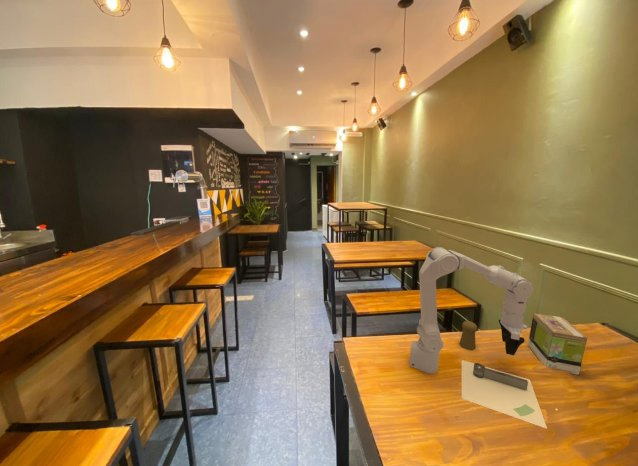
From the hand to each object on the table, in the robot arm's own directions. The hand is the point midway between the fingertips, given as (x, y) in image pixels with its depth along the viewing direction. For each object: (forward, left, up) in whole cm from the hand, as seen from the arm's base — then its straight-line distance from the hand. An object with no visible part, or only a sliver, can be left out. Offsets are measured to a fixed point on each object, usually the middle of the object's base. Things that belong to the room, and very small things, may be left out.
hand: (507, 347), depth 87 cm
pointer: (-2, -6, -9) cm, 11 cm away
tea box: (+17, +19, -11) cm, 28 cm away
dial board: (-3, -10, -10) cm, 15 cm away
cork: (-11, +11, -11) cm, 19 cm away
